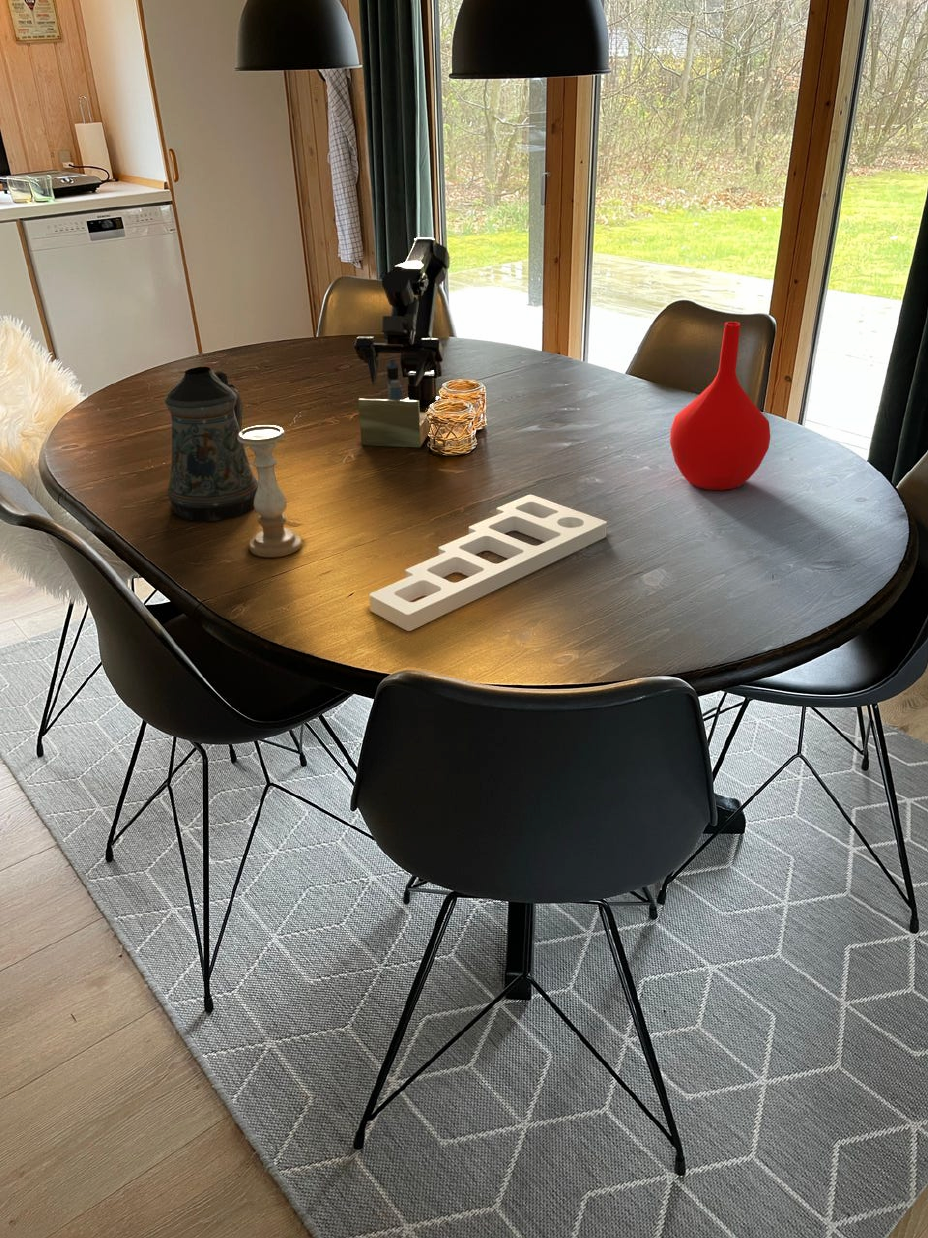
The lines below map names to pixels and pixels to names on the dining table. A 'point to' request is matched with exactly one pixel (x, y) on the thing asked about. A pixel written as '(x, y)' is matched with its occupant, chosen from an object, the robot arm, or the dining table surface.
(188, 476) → the beer stein
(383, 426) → the glossy olive-green box
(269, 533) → the candle holder
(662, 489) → the dining table surface
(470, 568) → the holder
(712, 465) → the vase
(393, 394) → the vaping device
